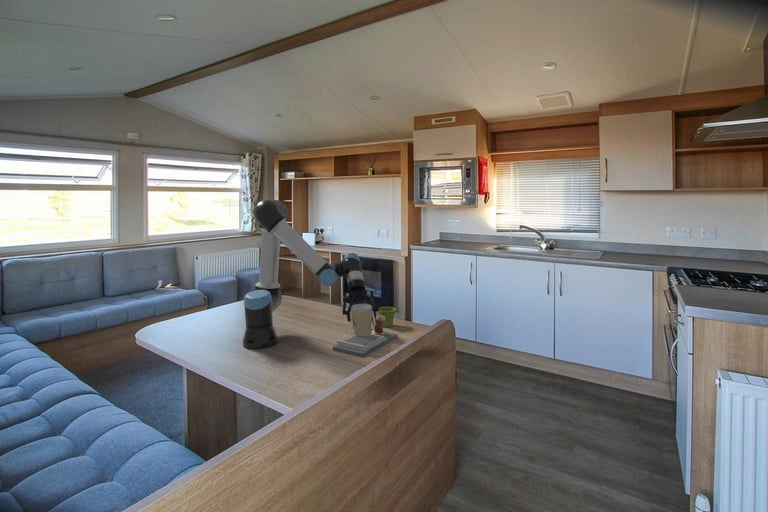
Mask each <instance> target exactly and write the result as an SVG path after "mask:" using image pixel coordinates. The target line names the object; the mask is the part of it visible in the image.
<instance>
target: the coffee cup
mask: <svg viewBox="0 0 768 512" xmlns="http://www.w3.org/2000/svg"><path fill="white" fill-rule="evenodd" d="M372 306H373V305H372ZM372 306H371V305H370V304H365V303H356V304H355V303H354V304H353V306H352V307H351V311H350V313H352V319H353V325H354V327H353V329H352V331H353V334H354V336H355V335H359V336H364V335H368V334H370V333H371V329H372V326H373V323H372Z"/></svg>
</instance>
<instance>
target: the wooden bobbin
mask: <svg viewBox="0 0 768 512" xmlns="http://www.w3.org/2000/svg"><path fill="white" fill-rule="evenodd" d="M376 316H377V317H376V319H375V323H376V325H375V327H373V331H372V334H375V335H380V336H383V335H385V332H386V330H384V329H383V328H384V327H383V321H384V320H385V316H382V315H379V314H378V315H377V314H376Z"/></svg>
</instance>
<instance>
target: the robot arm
mask: <svg viewBox="0 0 768 512" xmlns="http://www.w3.org/2000/svg"><path fill="white" fill-rule="evenodd" d="M288 212H289V211H288V207H287V206H286V205H285V203H284V202H282V201H281V200H278V199H263V200H261V201H260V202H258V203H257V204H256V206H255V207H254V211H253V214H254V219H255V220H256V222H257V223H258V229H260V231H261V243H260V244H261V246H260V259H259V275H258V282H256V283H255V286H254V288H255V289H254V290H252V291H249V292H247V293H246V294H245V295H244V297H243V300H244V301H243V305H244V315H245V316H244V317H245V331H244V335H243V338H242V346H243V347H244V348H246V349H249V348H250V350H252V349H253V350H259V349H266V348H270V347H273V346H274V345H276V344H278V341H279V340H278V338H279V337H278V335H277V332H276V329H275V327H274V324H273V322H274V321H273V312H275V310H276V309H278V307H279V306H280V305H281V302H282V292H281V284H280V283H279V282H278V277H279V265H280V264H279V263H280V249H281V243H282V244H283V245H284V246H285V247H286V248H287V249H288V250H290V251H291V252H292V253H293V254H294V255H295V257H297V258H298V260H300V261H301V262H302V263H303V264H304V265H305V266H306V267H307V268H308V269H309V270H310V271H311V272H312V273H313V274H314V275H315V276H316V277H317V278H318V281H319V282H320V284H321V285H323V286H324V287H331V286H333V285H334V284H336V283H337V281H338V279H339V278H342V277H346V280H347V288H348V292H343V293H342V299H343V304H342V315H343V316H344V315H345V316H346V319H347V322H349V324H350V329H351V330H353V327H354V325H353V319H352V313H351V307H352V306H353V305H355V302H363V304H370V305H371V306H372V327H373V328H374V327H375V325H376V323H375V319H376V317H377V316H376V315H377V312H378V310H379V308H380V307H379V304H378V302H377V300H376V298H375V296H374V291H373V290H370V291H368V290H366V286H365V281H364V279H365V278H364V275H363V274H364V273H363V270H362V264H361V263H362V262H361V259H360V256H359V255H358V253H354V252H350V253H347V254H345V255H344V257H343V260H340V261H335V262H332V263H328V262H327V260H325V258H323V256H321V254H320V253H318V252H317V251H316V250H315V249H314V248H313V246H311V245H310V244H309V243H308V242H307V241H306V240H305V239H304V238H303V237H302V236H301V235H300V234H299V233H298V232H297V231H296V230H295V229H294V228H293V227H292V226H291V225H290V224H289V223H288V222H287V218H288V215H289V214H288ZM367 296H368V297H369V299H370V301H369V299H368V297H367ZM348 298H351V300H350V302H349V305H348V307H347V299H348ZM346 309H347V310H346Z"/></svg>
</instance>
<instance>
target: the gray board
mask: <svg viewBox="0 0 768 512" xmlns="http://www.w3.org/2000/svg"><path fill="white" fill-rule="evenodd" d="M373 330H374V328H373V329H372V328H371V333H370V334H368V335H364V336H359V335H355V334H354V336H352V337H349V338H348V339H345V340H340V339H338V340H336V344H335V345H334V346H332V351H335V352H338V353H344V354H348V355H352V356H356V357H361V358H364V357H366V356H368V355H369V353H370V354H371V353H373V352H375V351H376V350H378V349H380V348H381V347H383V346H385V345H386V343H387V344H389V343H390V342H392V341H394V340H395V339H398V336H399V335H398V333H395V332H389V331H385V335H383V336H380V335H375V334H372V331H373ZM388 342H389V343H388Z"/></svg>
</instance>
